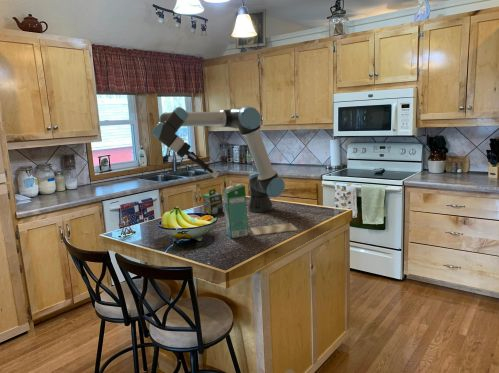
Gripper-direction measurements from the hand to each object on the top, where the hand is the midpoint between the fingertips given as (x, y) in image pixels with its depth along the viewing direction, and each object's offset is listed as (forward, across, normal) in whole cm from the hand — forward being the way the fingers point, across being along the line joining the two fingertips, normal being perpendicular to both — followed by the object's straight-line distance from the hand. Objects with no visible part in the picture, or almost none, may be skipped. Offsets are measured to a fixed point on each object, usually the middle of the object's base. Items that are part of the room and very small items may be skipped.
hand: (217, 176), depth 200 cm
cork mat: (+38, +11, -4) cm, 40 cm away
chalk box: (+20, -40, -17) cm, 48 cm away
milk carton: (+24, +10, -18) cm, 31 cm away
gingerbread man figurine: (-16, -18, -53) cm, 58 cm away
